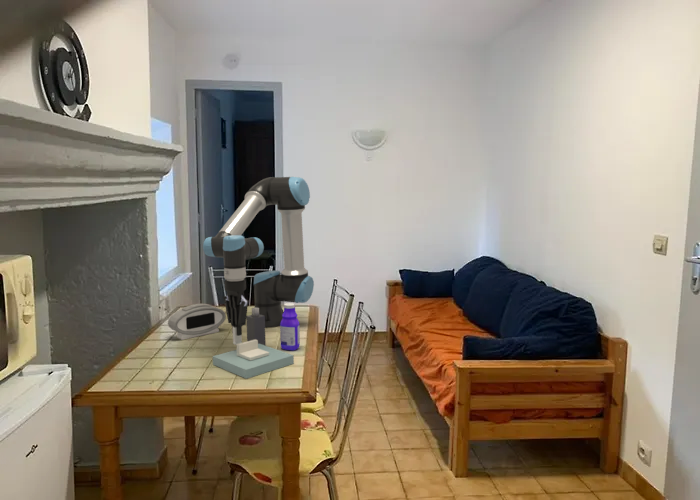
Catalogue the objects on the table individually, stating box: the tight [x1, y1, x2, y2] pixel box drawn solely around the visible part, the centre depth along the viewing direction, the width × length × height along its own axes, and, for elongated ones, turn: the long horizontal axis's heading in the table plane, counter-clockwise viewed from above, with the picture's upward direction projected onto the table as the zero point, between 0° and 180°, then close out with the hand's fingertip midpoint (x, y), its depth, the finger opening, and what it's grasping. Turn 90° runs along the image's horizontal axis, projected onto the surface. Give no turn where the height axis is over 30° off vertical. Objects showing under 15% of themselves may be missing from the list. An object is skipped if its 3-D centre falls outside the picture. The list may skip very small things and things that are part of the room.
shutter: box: [236, 339, 269, 361], centre depth 194 cm, size 8×8×4 cm
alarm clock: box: [167, 303, 227, 341], centre depth 230 cm, size 23×6×13 cm, turn 132°
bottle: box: [279, 302, 301, 351], centre depth 210 cm, size 7×6×17 cm
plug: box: [246, 307, 267, 346], centre depth 214 cm, size 5×5×15 cm
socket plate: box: [212, 344, 295, 380], centre depth 194 cm, size 20×20×3 cm
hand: (237, 343), depth 200 cm, fingers closed
